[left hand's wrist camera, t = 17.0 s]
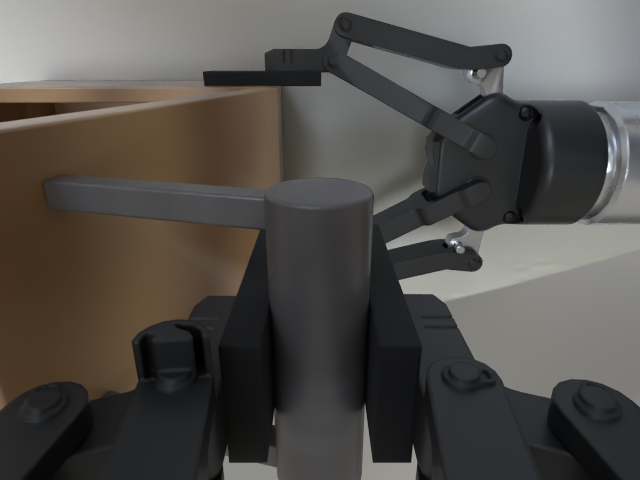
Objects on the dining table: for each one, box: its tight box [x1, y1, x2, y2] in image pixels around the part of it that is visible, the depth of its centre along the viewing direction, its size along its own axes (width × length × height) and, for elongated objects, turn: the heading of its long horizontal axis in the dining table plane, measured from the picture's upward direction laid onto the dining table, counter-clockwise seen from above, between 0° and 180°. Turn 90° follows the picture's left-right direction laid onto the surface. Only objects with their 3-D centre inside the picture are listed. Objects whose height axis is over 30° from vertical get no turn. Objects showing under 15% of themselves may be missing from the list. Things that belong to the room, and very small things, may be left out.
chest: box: [0, 80, 284, 183], centre depth 30 cm, size 17×9×9 cm, turn 90°
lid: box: [0, 88, 374, 480], centre depth 16 cm, size 17×9×9 cm
